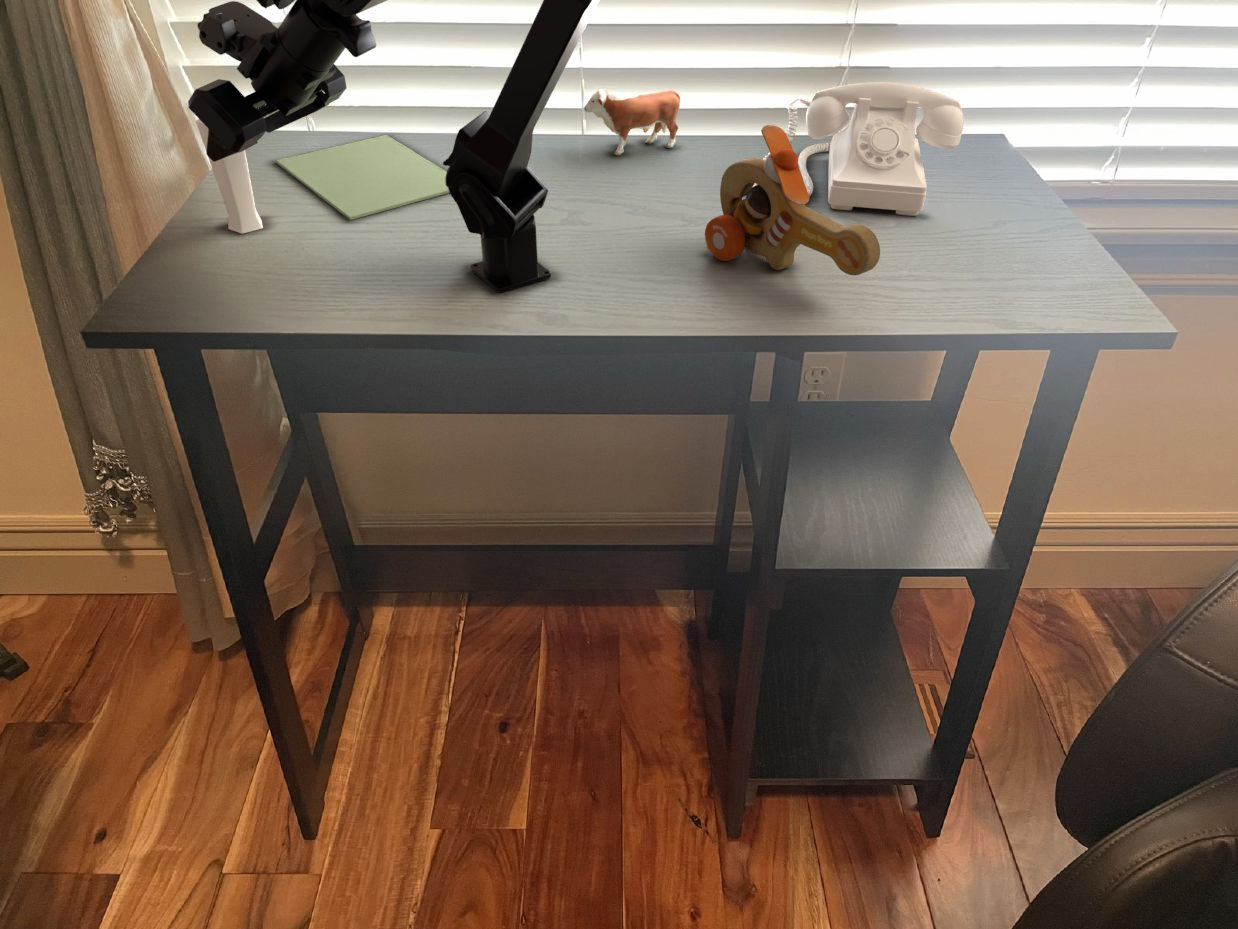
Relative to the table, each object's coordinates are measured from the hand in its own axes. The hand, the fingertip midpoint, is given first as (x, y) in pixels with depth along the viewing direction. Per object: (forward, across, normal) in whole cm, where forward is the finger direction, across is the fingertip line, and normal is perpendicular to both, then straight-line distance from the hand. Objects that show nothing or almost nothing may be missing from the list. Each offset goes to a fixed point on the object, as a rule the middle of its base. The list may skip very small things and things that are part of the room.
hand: (239, 142), depth 100 cm
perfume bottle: (+9, 0, +6) cm, 10 cm away
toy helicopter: (-34, -12, +48) cm, 60 cm away
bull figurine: (-15, -40, +30) cm, 52 cm away
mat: (+5, -18, +9) cm, 21 cm away
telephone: (-36, -39, +50) cm, 73 cm away
